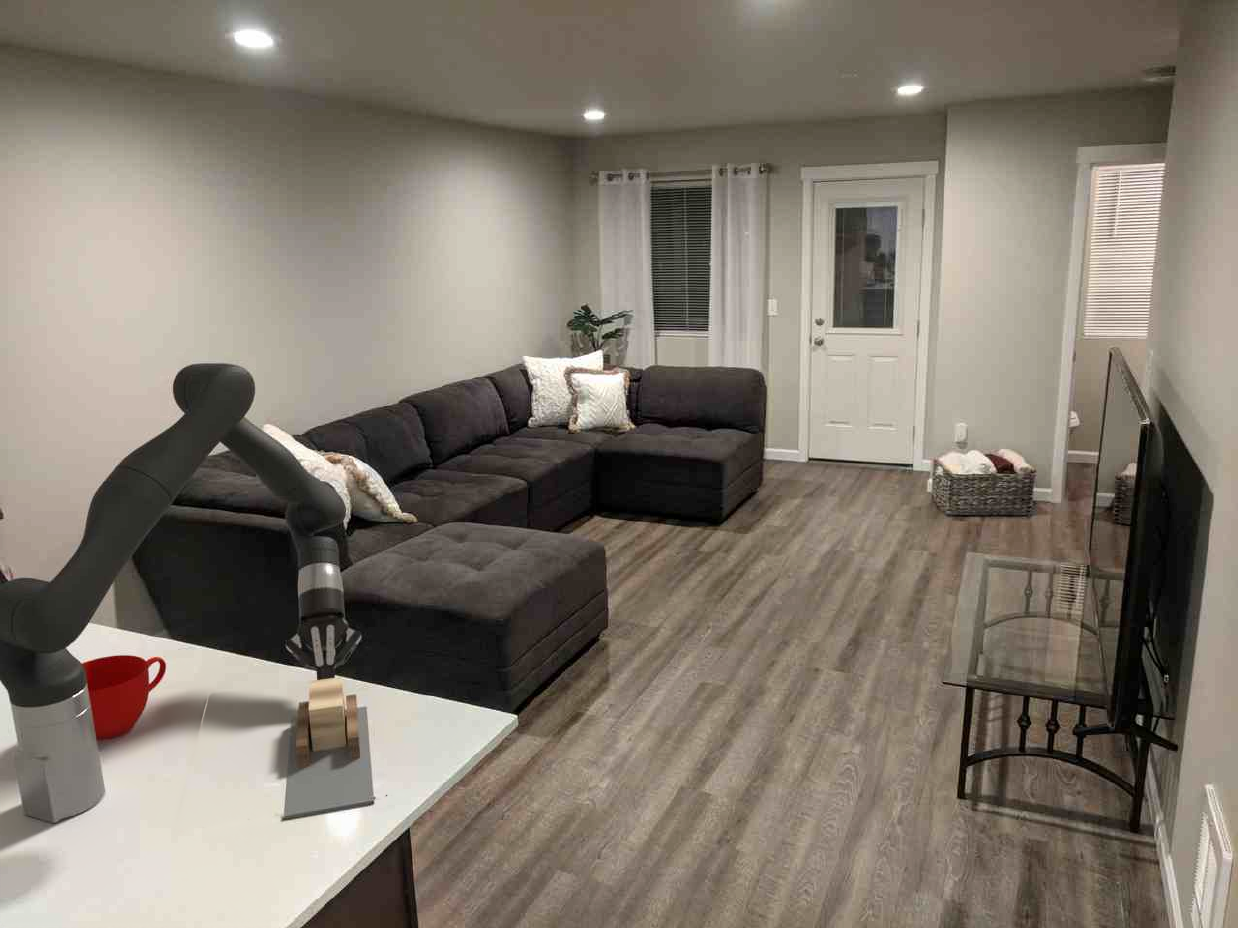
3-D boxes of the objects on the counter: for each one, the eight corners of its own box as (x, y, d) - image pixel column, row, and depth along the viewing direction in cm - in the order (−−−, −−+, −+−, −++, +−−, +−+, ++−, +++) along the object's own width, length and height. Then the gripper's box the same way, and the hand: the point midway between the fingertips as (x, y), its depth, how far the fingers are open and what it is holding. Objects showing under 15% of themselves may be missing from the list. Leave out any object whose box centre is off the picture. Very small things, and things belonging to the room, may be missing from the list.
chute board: (374, 803, 132) (373, 800, 132) (284, 819, 129) (284, 816, 129) (366, 708, 158) (366, 706, 158) (291, 720, 155) (291, 717, 155)
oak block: (346, 746, 146) (342, 705, 144) (312, 751, 145) (308, 710, 143) (345, 715, 155) (341, 676, 154) (313, 719, 154) (309, 681, 152)
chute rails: (360, 757, 143) (358, 736, 142) (298, 767, 140) (296, 746, 139) (357, 713, 156) (356, 694, 155) (300, 721, 153) (298, 702, 152)
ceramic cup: (193, 710, 158) (186, 656, 156) (96, 758, 144) (86, 699, 142) (146, 692, 165) (139, 639, 162) (49, 736, 151) (39, 679, 148)
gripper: (278, 590, 159) (282, 688, 151) (359, 581, 163) (367, 676, 155) (283, 607, 166) (287, 703, 157) (360, 598, 169) (368, 691, 161)
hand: (326, 689), depth 156 cm, fingers closed
